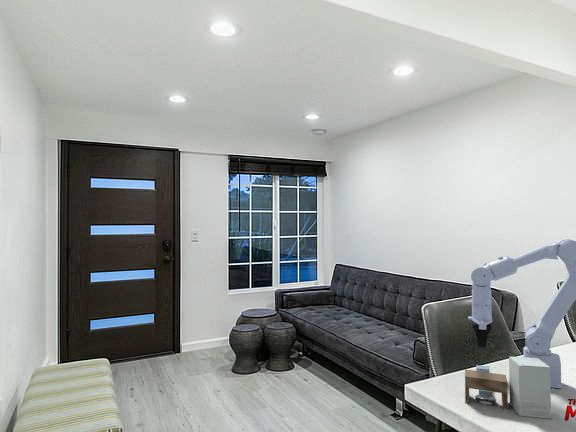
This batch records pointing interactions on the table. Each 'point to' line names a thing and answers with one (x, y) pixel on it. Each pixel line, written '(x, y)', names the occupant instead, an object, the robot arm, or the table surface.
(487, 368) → the pale blue mallet
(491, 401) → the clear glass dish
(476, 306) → the robot arm
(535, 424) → the table surface
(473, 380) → the brown wooden arch
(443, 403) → the table surface
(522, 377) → the supplement box
